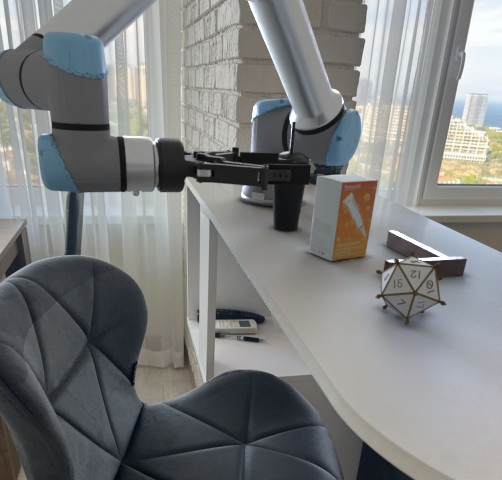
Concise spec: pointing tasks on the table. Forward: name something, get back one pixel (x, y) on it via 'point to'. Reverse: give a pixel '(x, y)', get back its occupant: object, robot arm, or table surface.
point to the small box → (342, 216)
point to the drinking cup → (288, 192)
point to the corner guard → (424, 255)
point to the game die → (410, 286)
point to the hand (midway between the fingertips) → (292, 167)
